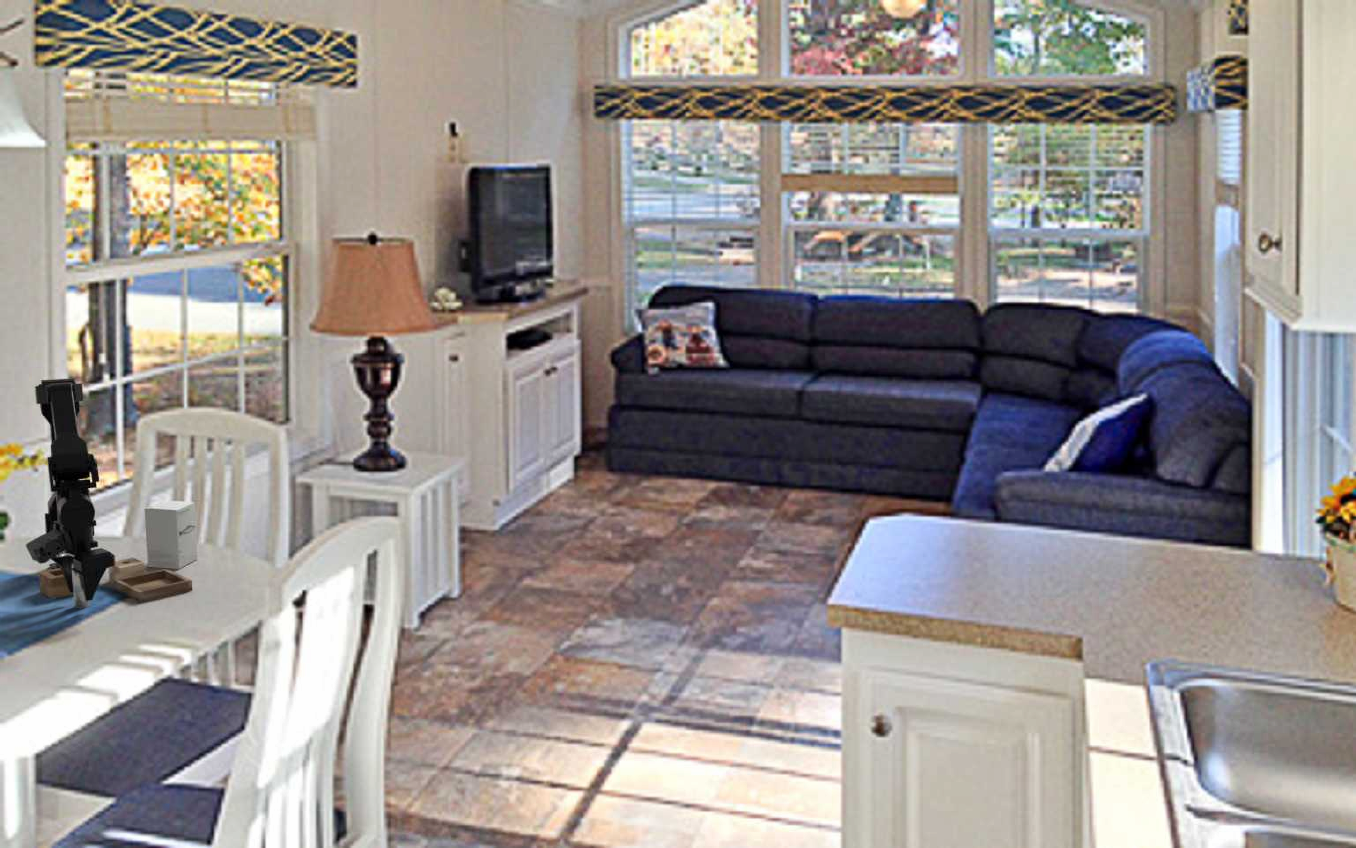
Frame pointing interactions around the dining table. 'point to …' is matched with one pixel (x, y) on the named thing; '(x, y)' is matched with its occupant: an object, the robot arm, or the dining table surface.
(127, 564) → the maple block
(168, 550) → the supplement box
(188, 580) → the tray
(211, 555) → the dining table surface
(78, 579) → the cylinder
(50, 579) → the brown square socket
